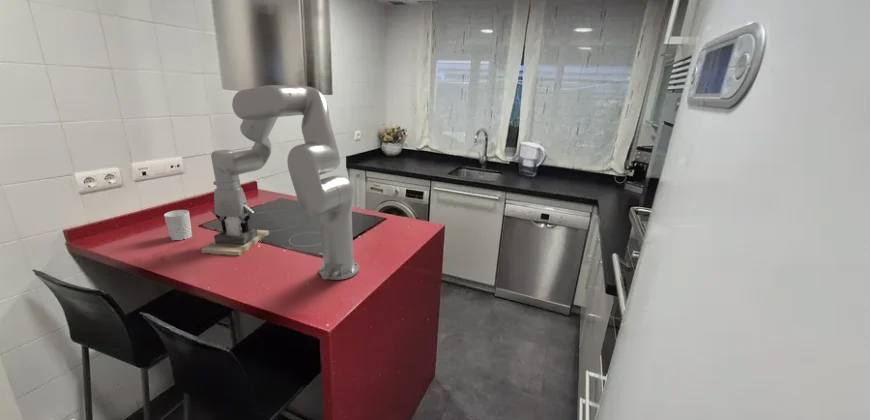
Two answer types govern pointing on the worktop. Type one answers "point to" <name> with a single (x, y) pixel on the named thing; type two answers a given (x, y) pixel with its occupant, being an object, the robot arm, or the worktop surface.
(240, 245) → the board
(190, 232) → the white cup
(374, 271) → the worktop surface
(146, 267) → the worktop surface
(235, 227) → the white wedge bracket
